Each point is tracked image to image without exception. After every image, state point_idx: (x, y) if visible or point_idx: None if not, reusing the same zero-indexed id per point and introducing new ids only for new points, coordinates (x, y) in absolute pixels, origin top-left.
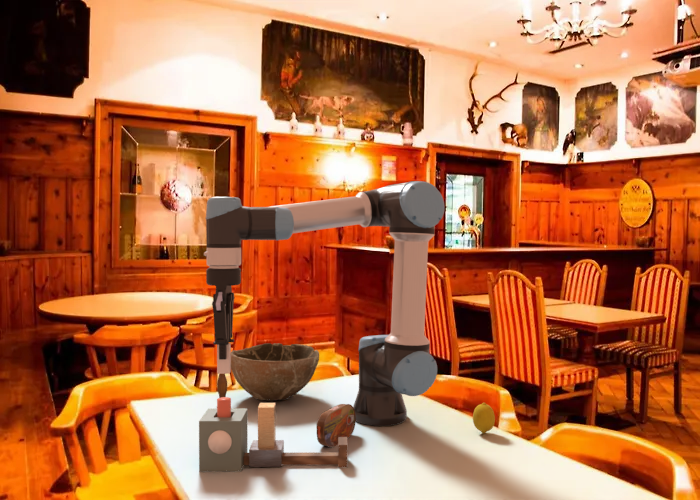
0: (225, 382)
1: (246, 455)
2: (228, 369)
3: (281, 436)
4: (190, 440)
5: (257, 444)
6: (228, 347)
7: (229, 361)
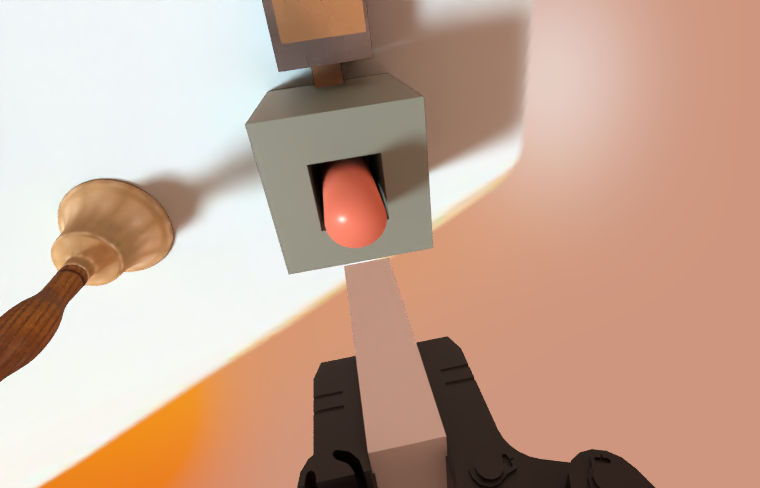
0: (14, 328)
1: (336, 75)
2: (393, 278)
3: (36, 11)
4: (203, 287)
5: (315, 41)
6: (437, 411)
7: (402, 309)
